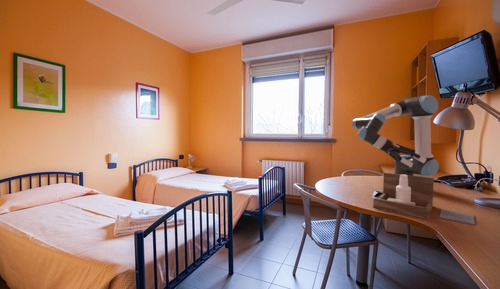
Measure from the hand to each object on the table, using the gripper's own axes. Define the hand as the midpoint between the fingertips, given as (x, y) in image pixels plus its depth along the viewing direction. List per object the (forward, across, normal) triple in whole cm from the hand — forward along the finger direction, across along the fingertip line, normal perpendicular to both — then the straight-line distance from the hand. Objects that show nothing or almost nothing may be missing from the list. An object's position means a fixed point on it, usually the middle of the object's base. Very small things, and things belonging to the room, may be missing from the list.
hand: (418, 163), depth 128 cm
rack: (+4, +1, -27) cm, 27 cm away
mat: (+22, +12, -20) cm, 32 cm away
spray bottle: (+4, +1, -27) cm, 28 cm away
